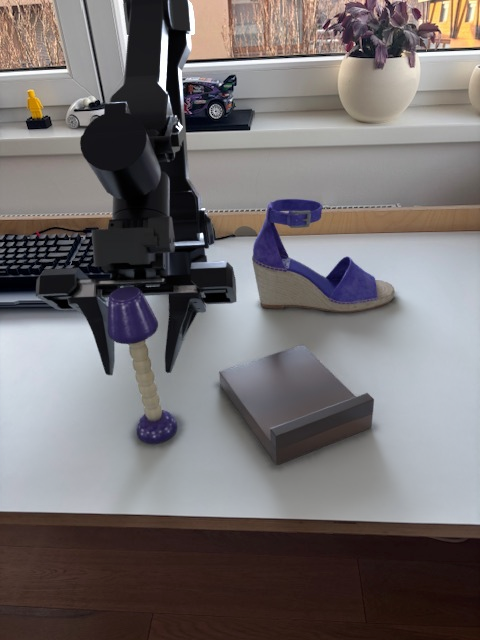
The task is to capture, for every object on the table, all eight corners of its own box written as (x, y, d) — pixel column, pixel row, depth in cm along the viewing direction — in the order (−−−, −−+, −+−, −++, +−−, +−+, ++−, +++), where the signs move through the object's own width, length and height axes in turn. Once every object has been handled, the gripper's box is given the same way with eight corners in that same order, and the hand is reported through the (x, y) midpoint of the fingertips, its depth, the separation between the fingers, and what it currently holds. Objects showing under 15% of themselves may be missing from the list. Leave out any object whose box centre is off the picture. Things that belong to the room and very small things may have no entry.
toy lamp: (156, 453, 54) (128, 310, 46) (122, 437, 57) (88, 298, 48) (185, 423, 58) (164, 285, 49) (151, 410, 60) (125, 275, 51)
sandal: (398, 314, 74) (410, 208, 66) (253, 314, 76) (247, 212, 68) (391, 286, 80) (400, 187, 73) (257, 286, 83) (252, 191, 75)
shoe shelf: (220, 385, 63) (217, 358, 61) (302, 357, 67) (302, 331, 65) (276, 465, 52) (275, 436, 50) (371, 427, 56) (374, 399, 54)
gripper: (14, 188, 48) (1, 365, 44) (226, 177, 47) (230, 356, 43) (62, 236, 58) (54, 381, 55) (234, 228, 58) (238, 374, 54)
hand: (138, 373), depth 51 cm, fingers open, 5 cm apart
